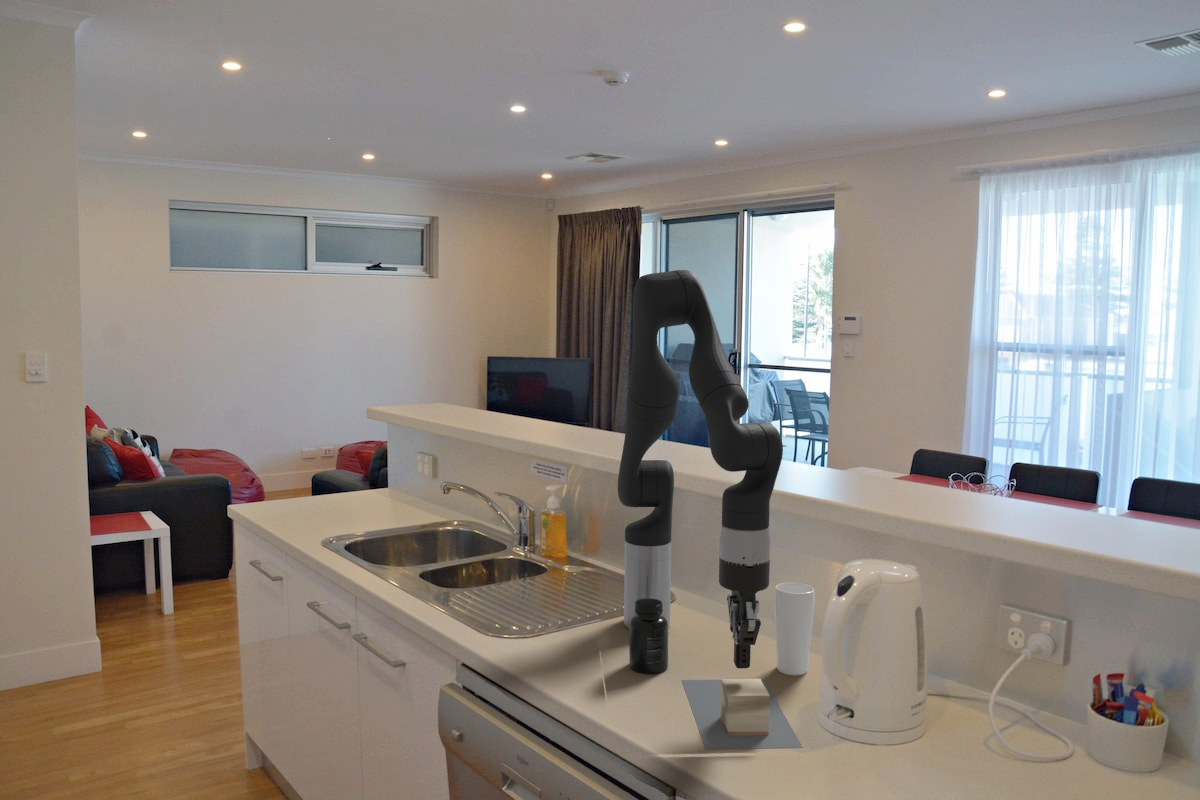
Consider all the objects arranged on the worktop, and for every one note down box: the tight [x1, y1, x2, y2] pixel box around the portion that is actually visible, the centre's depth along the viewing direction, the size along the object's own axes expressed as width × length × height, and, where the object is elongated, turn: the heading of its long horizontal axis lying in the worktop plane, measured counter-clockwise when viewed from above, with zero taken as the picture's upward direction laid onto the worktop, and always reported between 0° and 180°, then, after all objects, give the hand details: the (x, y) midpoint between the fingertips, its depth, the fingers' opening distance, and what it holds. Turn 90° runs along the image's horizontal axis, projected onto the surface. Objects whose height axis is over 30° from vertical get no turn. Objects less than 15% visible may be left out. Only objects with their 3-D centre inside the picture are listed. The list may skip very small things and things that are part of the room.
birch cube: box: [720, 678, 770, 735], centre depth 133 cm, size 6×6×6 cm
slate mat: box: [681, 678, 804, 750], centre depth 138 cm, size 24×14×1 cm, turn 3°
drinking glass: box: [773, 581, 815, 676], centre depth 154 cm, size 7×7×15 cm
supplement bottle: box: [628, 598, 669, 675], centre depth 155 cm, size 7×7×12 cm
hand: (741, 666), depth 135 cm, fingers closed
